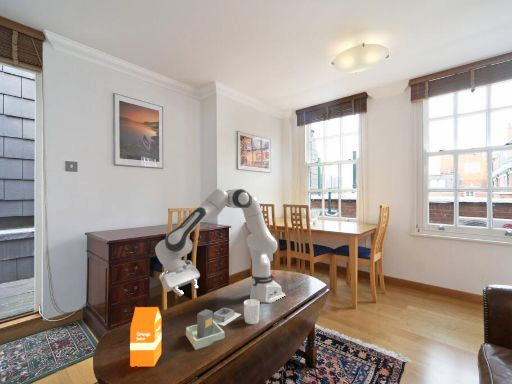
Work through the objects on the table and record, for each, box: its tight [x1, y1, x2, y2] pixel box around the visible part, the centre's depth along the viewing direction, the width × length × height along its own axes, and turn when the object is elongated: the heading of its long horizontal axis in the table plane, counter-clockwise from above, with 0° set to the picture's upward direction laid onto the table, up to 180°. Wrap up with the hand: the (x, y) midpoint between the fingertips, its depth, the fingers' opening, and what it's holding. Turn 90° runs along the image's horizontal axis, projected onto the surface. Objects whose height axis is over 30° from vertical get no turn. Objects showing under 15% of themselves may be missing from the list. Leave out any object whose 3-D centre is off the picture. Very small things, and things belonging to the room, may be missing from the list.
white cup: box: [243, 298, 261, 325], centre depth 127 cm, size 8×8×10 cm
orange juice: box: [129, 306, 162, 368], centre depth 98 cm, size 8×9×20 cm
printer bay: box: [213, 306, 242, 327], centre depth 130 cm, size 14×12×4 cm
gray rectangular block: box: [196, 308, 214, 338], centre depth 113 cm, size 6×4×10 cm
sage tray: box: [185, 321, 226, 351], centre depth 113 cm, size 13×13×4 cm
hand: (189, 291), depth 123 cm, fingers open, 8 cm apart
